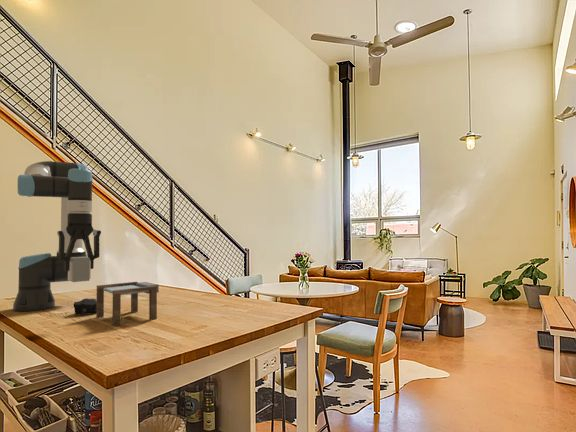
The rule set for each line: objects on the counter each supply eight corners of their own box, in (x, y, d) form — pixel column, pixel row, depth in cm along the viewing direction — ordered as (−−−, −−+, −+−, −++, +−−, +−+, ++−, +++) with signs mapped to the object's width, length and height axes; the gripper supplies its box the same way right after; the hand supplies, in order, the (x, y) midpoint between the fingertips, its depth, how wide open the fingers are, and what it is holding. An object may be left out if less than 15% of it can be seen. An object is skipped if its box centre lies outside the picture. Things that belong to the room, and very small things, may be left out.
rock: (80, 310, 156) (80, 297, 156) (103, 309, 158) (103, 295, 158) (73, 316, 146) (73, 301, 146) (97, 315, 148) (97, 300, 148)
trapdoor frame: (96, 317, 143) (96, 285, 144) (135, 311, 154) (135, 281, 154) (114, 326, 129) (114, 291, 129) (156, 318, 139) (156, 286, 139)
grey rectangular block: (68, 280, 132) (69, 257, 132) (84, 278, 135) (84, 256, 135) (73, 282, 127) (73, 258, 128) (89, 280, 131) (89, 257, 131)
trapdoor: (104, 293, 143) (104, 285, 143) (144, 288, 154) (144, 281, 154) (118, 298, 132) (118, 289, 132) (160, 292, 143) (160, 284, 143)
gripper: (52, 212, 123) (51, 283, 122) (110, 213, 135) (110, 277, 135) (47, 212, 128) (46, 280, 128) (103, 213, 141) (103, 275, 140)
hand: (79, 279), depth 131 cm, fingers closed on grey rectangular block, 5 cm apart
